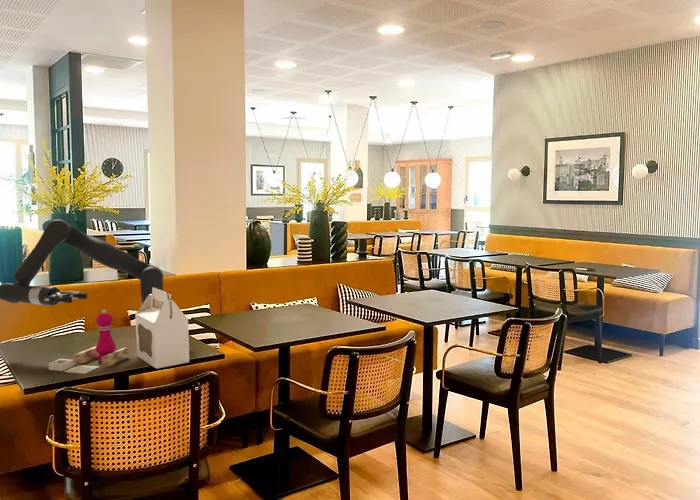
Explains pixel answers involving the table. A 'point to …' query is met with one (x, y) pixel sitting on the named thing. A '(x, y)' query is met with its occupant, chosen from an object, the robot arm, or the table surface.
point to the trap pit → (61, 364)
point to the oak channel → (106, 359)
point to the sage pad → (81, 369)
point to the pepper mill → (104, 335)
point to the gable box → (161, 331)
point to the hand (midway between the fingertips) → (79, 298)
